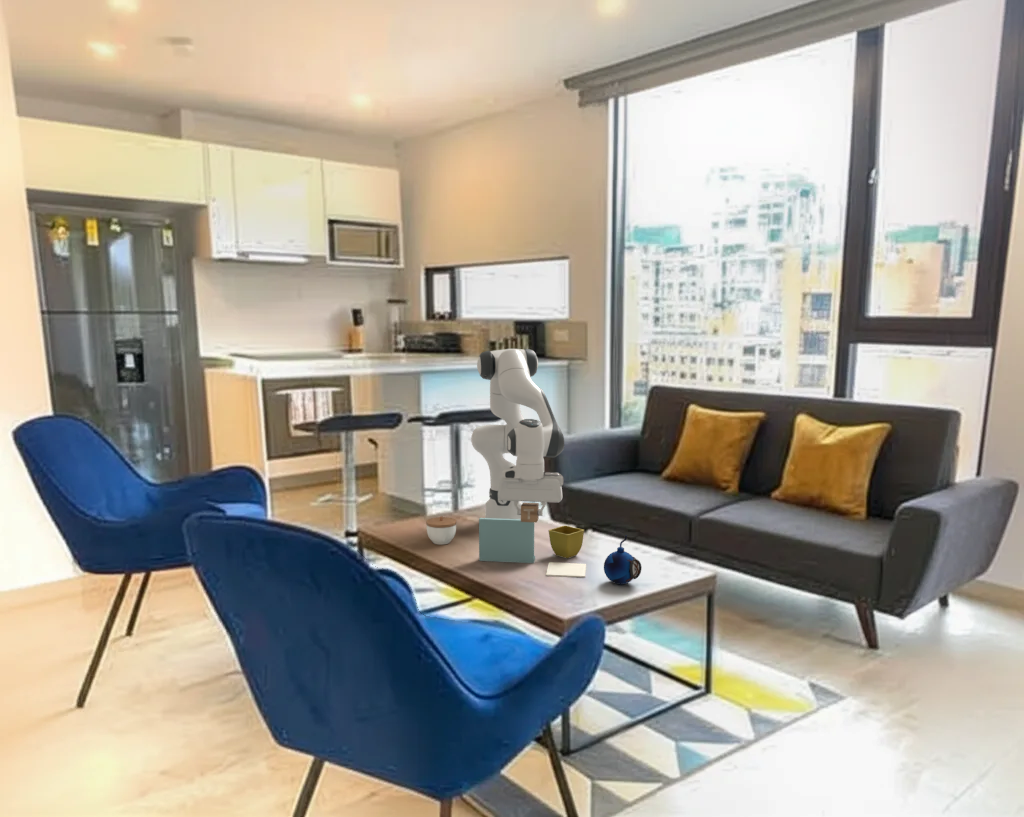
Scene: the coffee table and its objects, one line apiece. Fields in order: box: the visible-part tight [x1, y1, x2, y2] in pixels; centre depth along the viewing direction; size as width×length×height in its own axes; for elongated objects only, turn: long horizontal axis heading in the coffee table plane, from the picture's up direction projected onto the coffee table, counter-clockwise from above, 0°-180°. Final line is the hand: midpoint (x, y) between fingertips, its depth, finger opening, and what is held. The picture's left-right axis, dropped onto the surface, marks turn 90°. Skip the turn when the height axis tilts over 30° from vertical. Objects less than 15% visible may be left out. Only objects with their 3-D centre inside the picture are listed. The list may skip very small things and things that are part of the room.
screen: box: [478, 517, 536, 564], centre depth 241 cm, size 5×18×14 cm, turn 83°
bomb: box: [603, 535, 642, 585], centre depth 219 cm, size 10×11×15 cm
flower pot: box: [548, 525, 585, 559], centre depth 246 cm, size 9×9×9 cm
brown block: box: [521, 502, 540, 523], centre depth 231 cm, size 5×5×5 cm
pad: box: [545, 561, 587, 578], centre depth 231 cm, size 12×12×1 cm
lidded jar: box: [425, 515, 457, 545], centre depth 262 cm, size 11×11×9 cm
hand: (529, 515), depth 231 cm, fingers closed on brown block, 5 cm apart
